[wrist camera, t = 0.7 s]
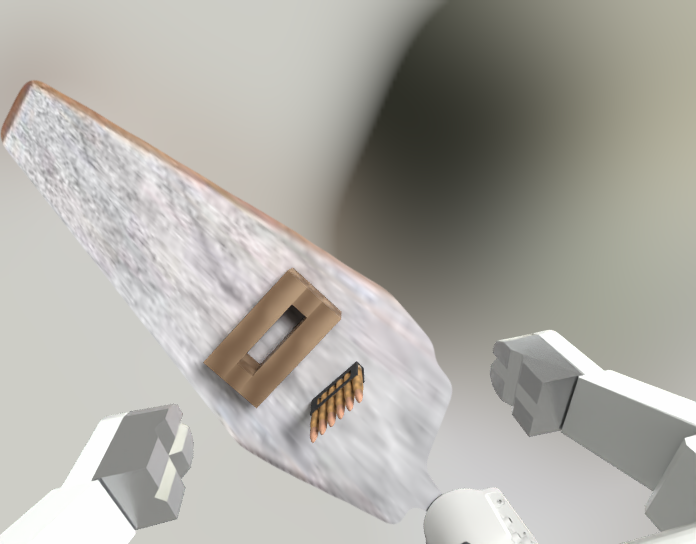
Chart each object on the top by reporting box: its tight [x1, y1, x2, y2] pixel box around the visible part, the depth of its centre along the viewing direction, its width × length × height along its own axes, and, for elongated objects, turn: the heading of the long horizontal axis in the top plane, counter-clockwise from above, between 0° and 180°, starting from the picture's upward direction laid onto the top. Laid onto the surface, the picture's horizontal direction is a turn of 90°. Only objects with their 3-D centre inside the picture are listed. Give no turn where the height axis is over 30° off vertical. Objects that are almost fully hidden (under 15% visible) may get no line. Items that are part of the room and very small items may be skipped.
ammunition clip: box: [310, 361, 364, 443], centre depth 52 cm, size 11×2×12 cm, turn 132°
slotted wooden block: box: [203, 268, 341, 408], centre depth 55 cm, size 11×20×5 cm, turn 137°
